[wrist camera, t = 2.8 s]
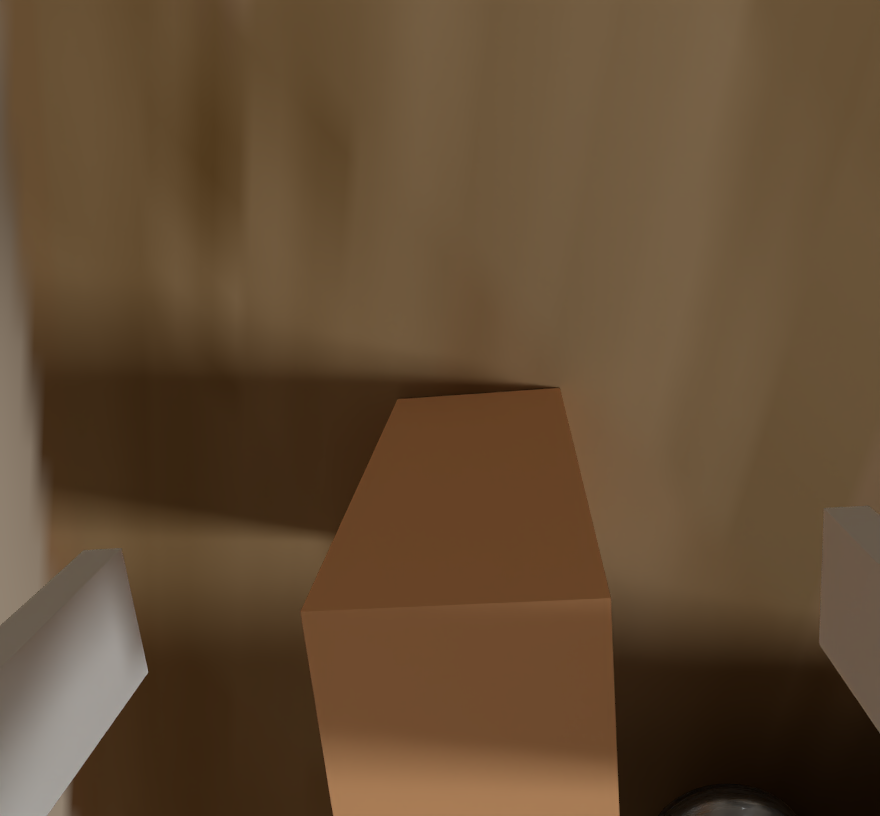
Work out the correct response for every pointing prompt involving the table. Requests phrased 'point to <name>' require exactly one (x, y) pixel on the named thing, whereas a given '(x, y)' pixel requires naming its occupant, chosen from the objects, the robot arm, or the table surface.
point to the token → (727, 802)
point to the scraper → (466, 621)
